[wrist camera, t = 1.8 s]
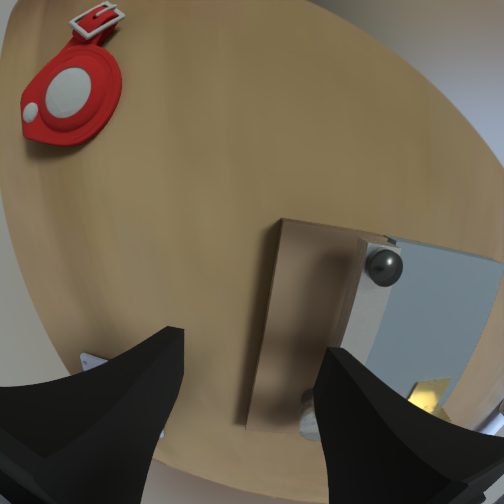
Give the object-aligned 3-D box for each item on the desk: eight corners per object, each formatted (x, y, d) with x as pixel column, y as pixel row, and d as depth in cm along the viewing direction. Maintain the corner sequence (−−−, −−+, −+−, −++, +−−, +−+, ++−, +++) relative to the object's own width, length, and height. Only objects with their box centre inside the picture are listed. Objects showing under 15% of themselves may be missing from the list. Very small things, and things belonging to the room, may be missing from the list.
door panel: (424, 412, 21) (431, 423, 19) (321, 422, 21) (324, 437, 19) (491, 258, 17) (505, 264, 15) (383, 234, 17) (396, 240, 15)
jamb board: (317, 422, 21) (321, 443, 19) (246, 418, 21) (244, 440, 19) (378, 234, 17) (397, 242, 14) (281, 217, 17) (285, 224, 14)
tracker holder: (128, 127, 15) (14, 170, 13) (139, 128, 19) (39, 161, 17) (120, -15, 9) (8, 35, 8) (129, 6, 13) (31, 45, 12)
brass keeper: (434, 410, 19) (446, 428, 16) (389, 417, 19) (399, 440, 16) (455, 376, 18) (470, 394, 15) (409, 382, 18) (424, 404, 15)
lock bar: (332, 423, 18) (338, 445, 15) (293, 423, 18) (296, 447, 15) (396, 243, 14) (417, 254, 12) (347, 234, 14) (363, 244, 12)
